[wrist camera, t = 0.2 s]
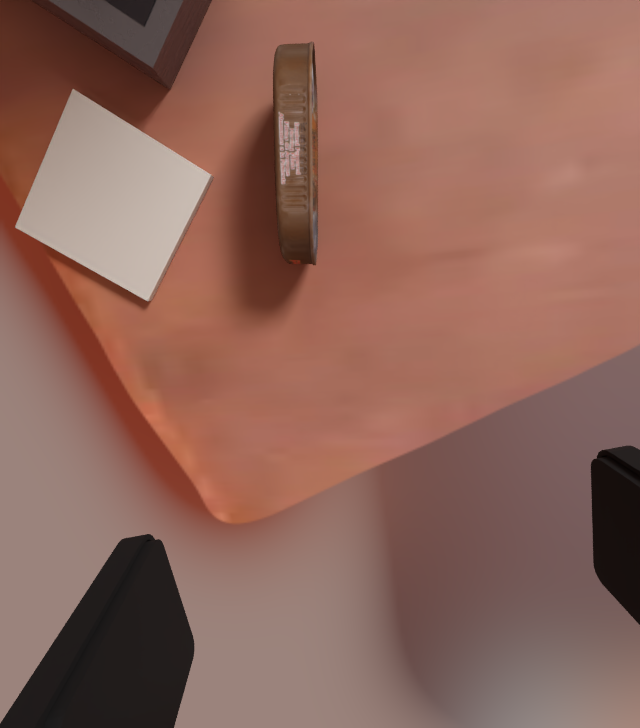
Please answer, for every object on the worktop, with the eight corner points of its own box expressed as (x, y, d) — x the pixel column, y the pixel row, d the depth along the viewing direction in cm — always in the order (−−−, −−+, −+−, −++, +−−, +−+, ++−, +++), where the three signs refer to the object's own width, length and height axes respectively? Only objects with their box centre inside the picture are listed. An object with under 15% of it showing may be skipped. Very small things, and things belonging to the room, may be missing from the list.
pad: (79, 93, 34) (72, 88, 33) (213, 177, 36) (211, 174, 35) (22, 228, 36) (15, 227, 35) (151, 300, 38) (147, 301, 37)
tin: (317, 264, 38) (321, 266, 30) (282, 264, 38) (276, 266, 29) (317, 73, 34) (321, 14, 26) (278, 72, 34) (270, 13, 26)
